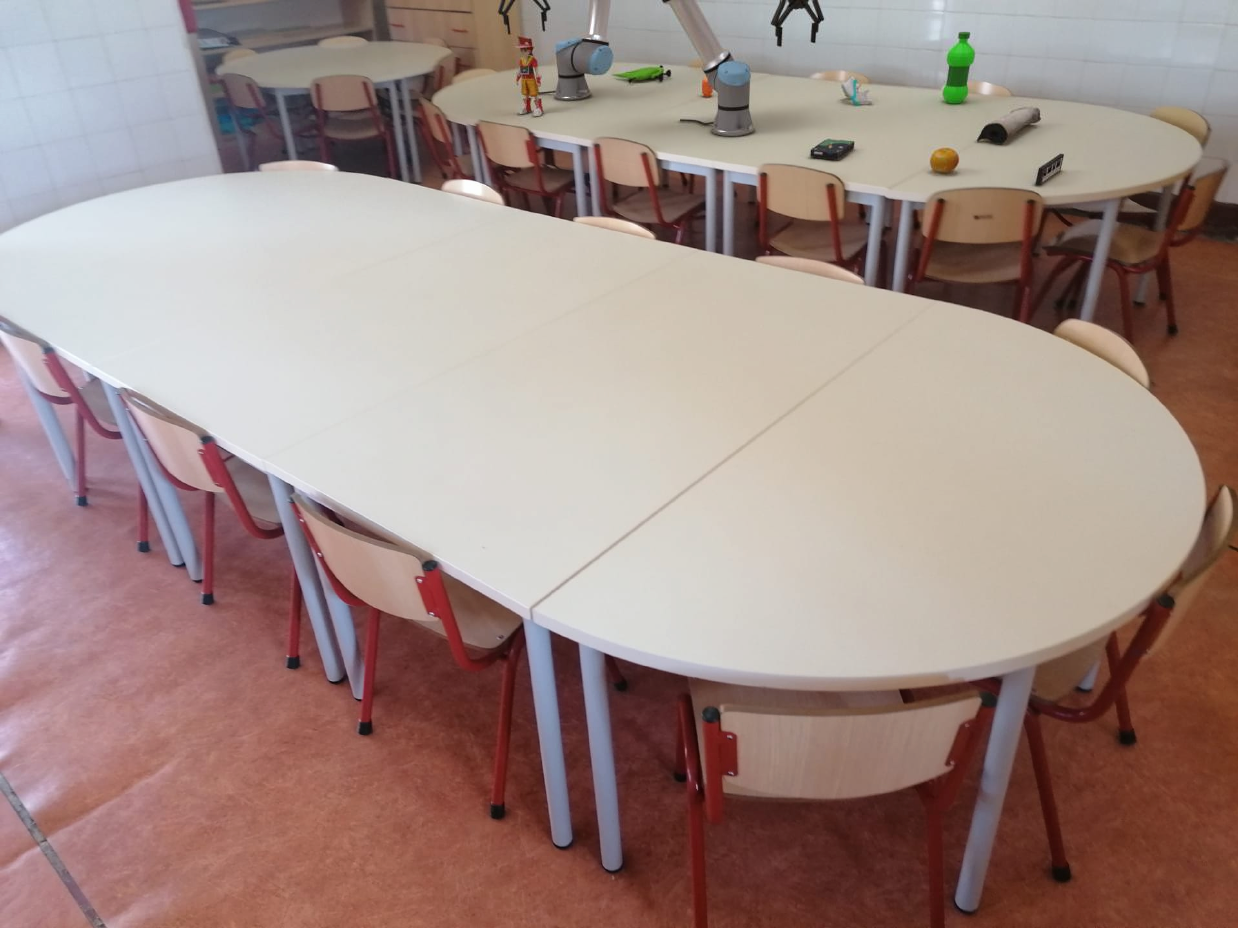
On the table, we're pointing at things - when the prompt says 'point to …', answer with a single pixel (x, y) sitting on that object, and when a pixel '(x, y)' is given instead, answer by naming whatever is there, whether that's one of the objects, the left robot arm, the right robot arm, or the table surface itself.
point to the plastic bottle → (958, 69)
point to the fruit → (944, 160)
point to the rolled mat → (1009, 124)
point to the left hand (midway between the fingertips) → (526, 32)
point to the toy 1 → (529, 77)
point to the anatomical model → (855, 92)
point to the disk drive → (832, 149)
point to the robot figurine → (706, 88)
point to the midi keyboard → (1049, 169)
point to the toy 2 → (645, 74)
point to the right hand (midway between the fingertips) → (796, 44)
